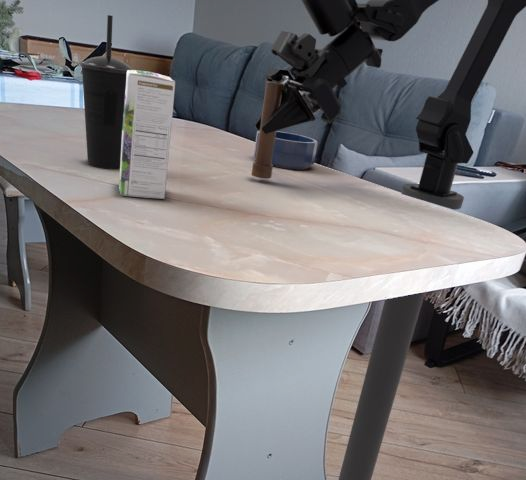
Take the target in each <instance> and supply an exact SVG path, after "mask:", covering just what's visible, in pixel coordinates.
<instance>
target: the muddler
mask: <svg viewBox="0 0 526 480" xmlns="http://www.w3.org/2000/svg"><path fill="white" fill-rule="evenodd" d="M264 89H265V90H264V96H263V101H262V103H263V104H262V111H261V114H262V117H261V124H260V130H258V131H259V138H258V145H257V152H256V158H255V159H254V160H255V161H253V162H252V168H251V176H252V177H255V178H259V179H266V180H267V179H271V178H272V175H273V168H274V166H273V165H272V164H271V163H272V156H273V150H274V143H275V136H276V131H274V132H270V133H267V134H265V133H264V132H263V131H262V129H261V128H262V126H263V125H264V124H265V122H266V121H267V120H268V119H269V118H270V117H271V115H272V114H273V113H274V112H275V111H276V110H277V109H278V107H279V106H280V103H281V97H282V90H283V84H282V83H277V82H270V81H267V80H266V82H265V88H264Z"/></svg>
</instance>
